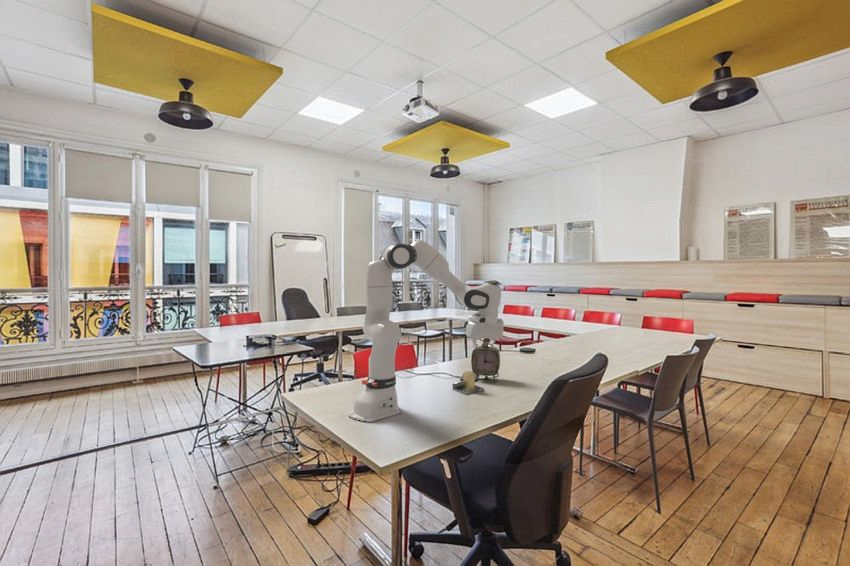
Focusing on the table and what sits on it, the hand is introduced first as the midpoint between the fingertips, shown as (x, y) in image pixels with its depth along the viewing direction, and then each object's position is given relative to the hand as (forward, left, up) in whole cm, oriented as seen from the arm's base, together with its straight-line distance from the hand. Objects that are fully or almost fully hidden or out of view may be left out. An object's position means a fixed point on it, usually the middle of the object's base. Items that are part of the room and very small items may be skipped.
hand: (482, 347), depth 182 cm
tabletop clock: (+28, +13, -24) cm, 39 cm away
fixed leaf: (+7, +12, -24) cm, 27 cm away
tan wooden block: (+6, +11, -23) cm, 26 cm away
